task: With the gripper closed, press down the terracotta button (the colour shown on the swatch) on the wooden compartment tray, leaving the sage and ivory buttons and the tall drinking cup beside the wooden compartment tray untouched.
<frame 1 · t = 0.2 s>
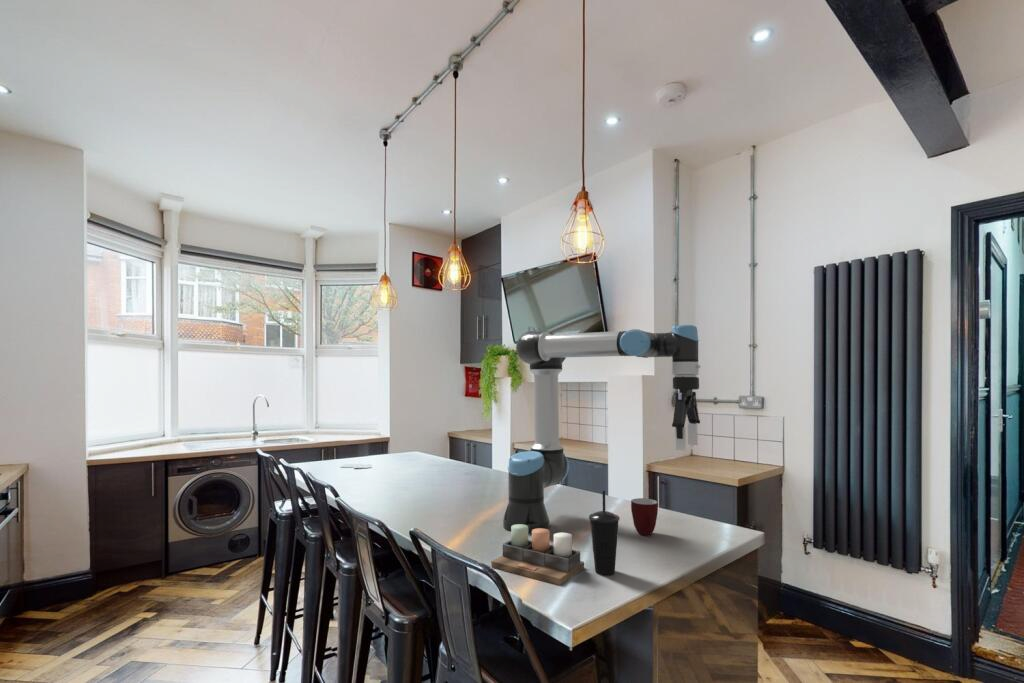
hand: (687, 447, 150), 28 cm above the counter, fingers open, 13 cm apart
button terracotta: (540, 540, 131), point 6 cm above the counter, slide at 0.0 cm
drinking cup: (604, 572, 126), on the counter
button ivory: (562, 545, 127), point 6 cm above the counter, slide at 0.0 cm
button sage: (519, 536, 134), point 6 cm above the counter, slide at 0.0 cm
mug: (646, 535, 155), on the counter
wooden compartment tray: (537, 567, 129), on the counter
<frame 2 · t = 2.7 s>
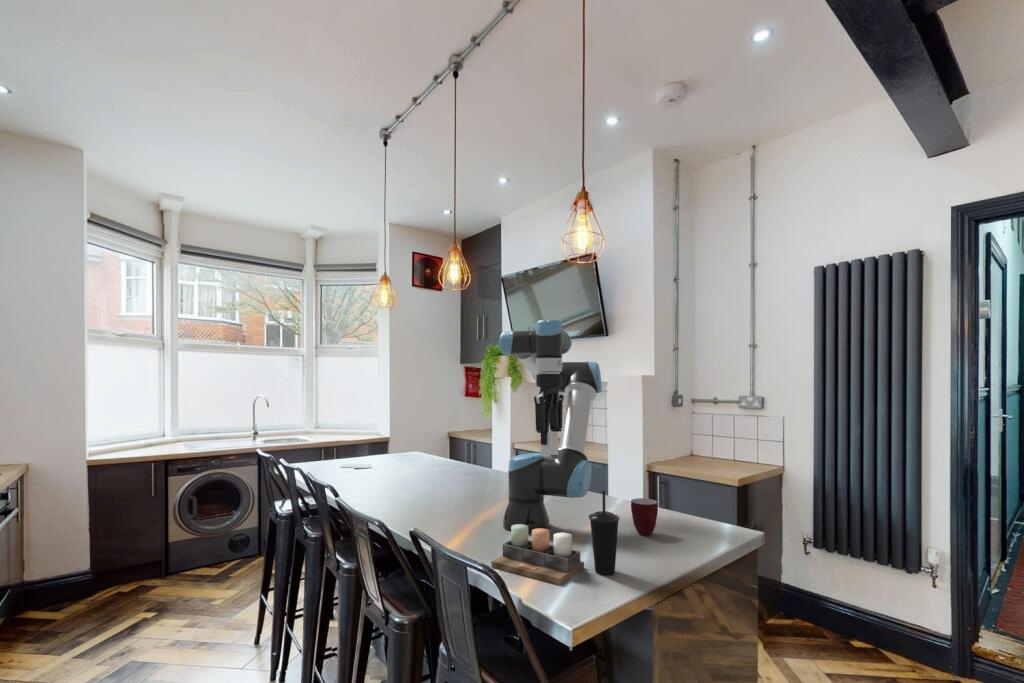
hand: (549, 455, 143), 27 cm above the counter, fingers open, 4 cm apart
nothing on the counter moved.
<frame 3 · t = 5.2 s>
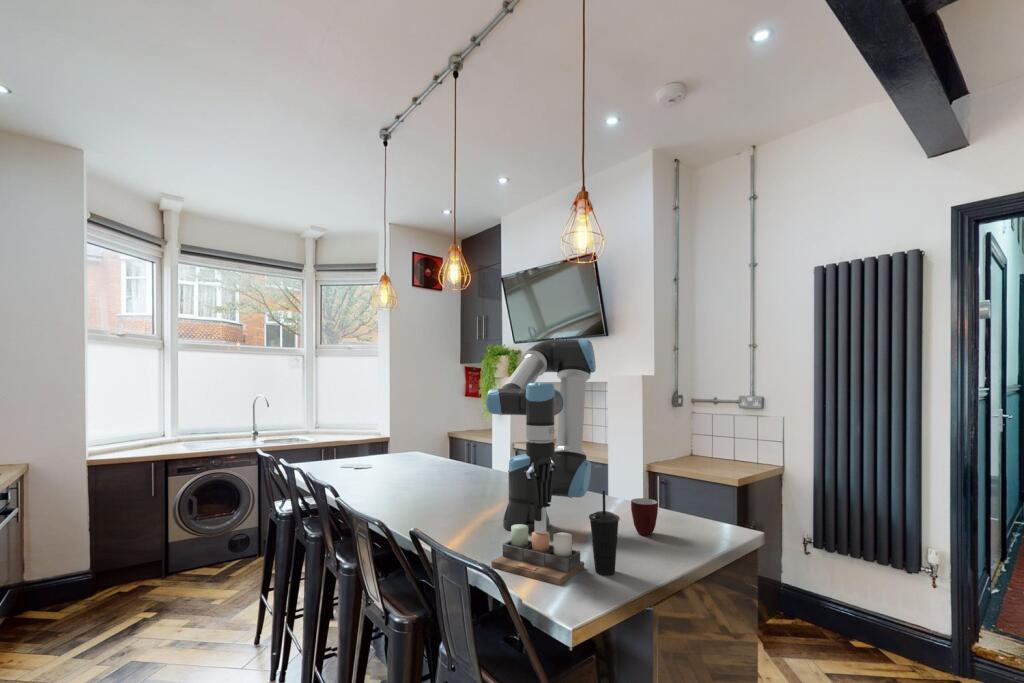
hand: (540, 532, 131), 8 cm above the counter, fingers closed
button terracotta: (540, 543, 131), point 6 cm above the counter, slide at 0.6 cm, touching gripper
everything else where it was.
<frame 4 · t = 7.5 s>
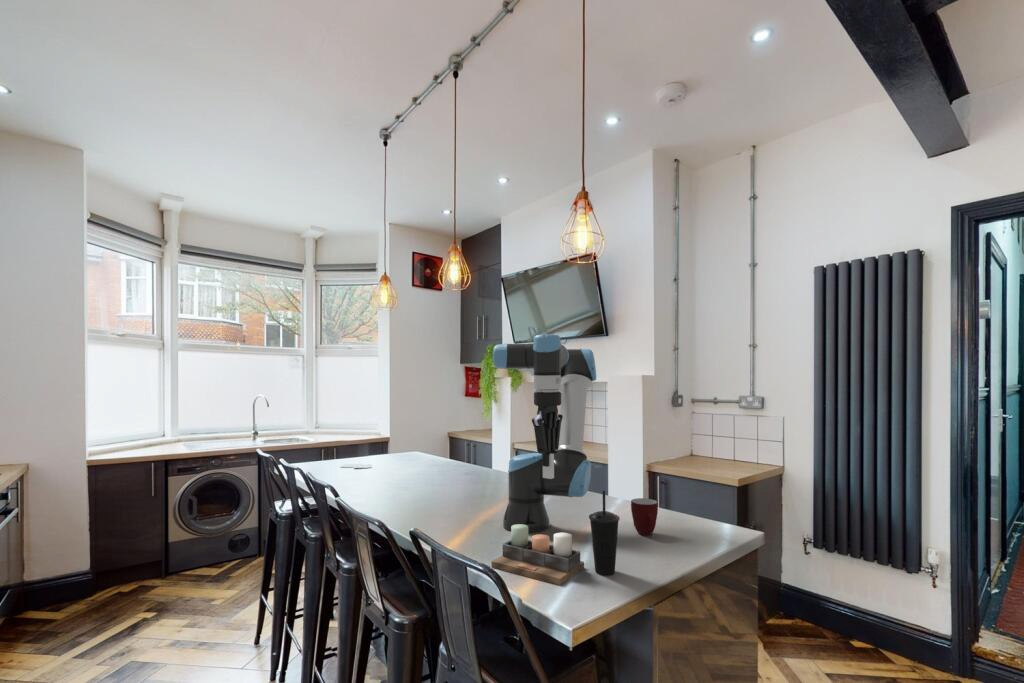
hand: (548, 477, 137), 22 cm above the counter, fingers closed
button terracotta: (540, 547, 131), point 5 cm above the counter, slide at 1.6 cm
everything else where it was.
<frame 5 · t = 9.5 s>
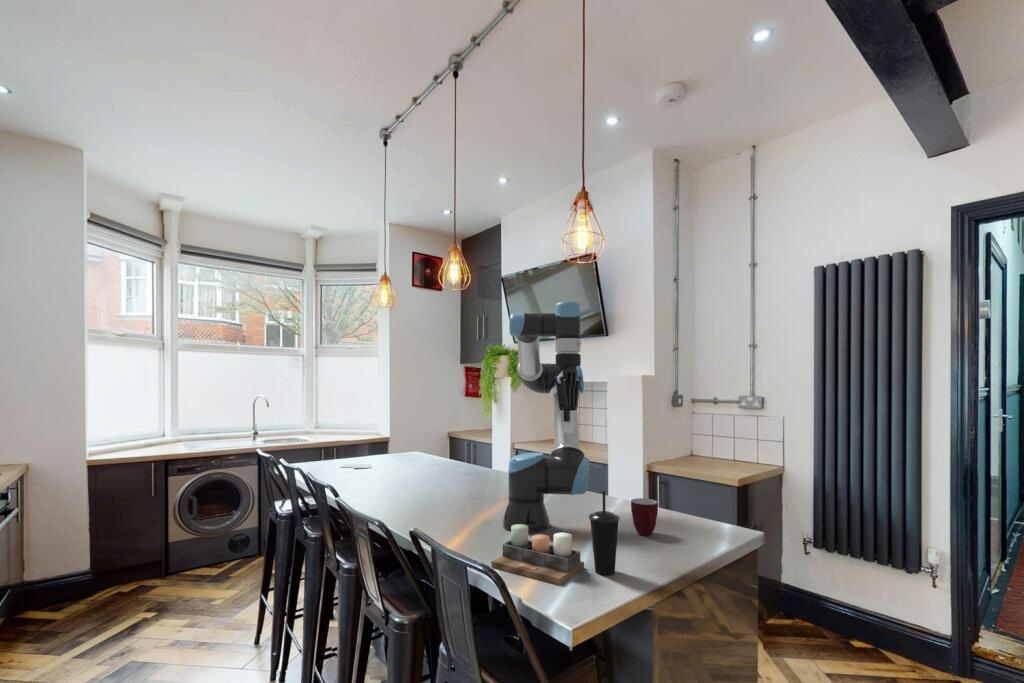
hand: (568, 432, 149), 32 cm above the counter, fingers closed
nothing on the counter moved.
at the end: button terracotta slide at 1.6 cm; button sage slide at 0.0 cm; button ivory slide at 0.0 cm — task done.
